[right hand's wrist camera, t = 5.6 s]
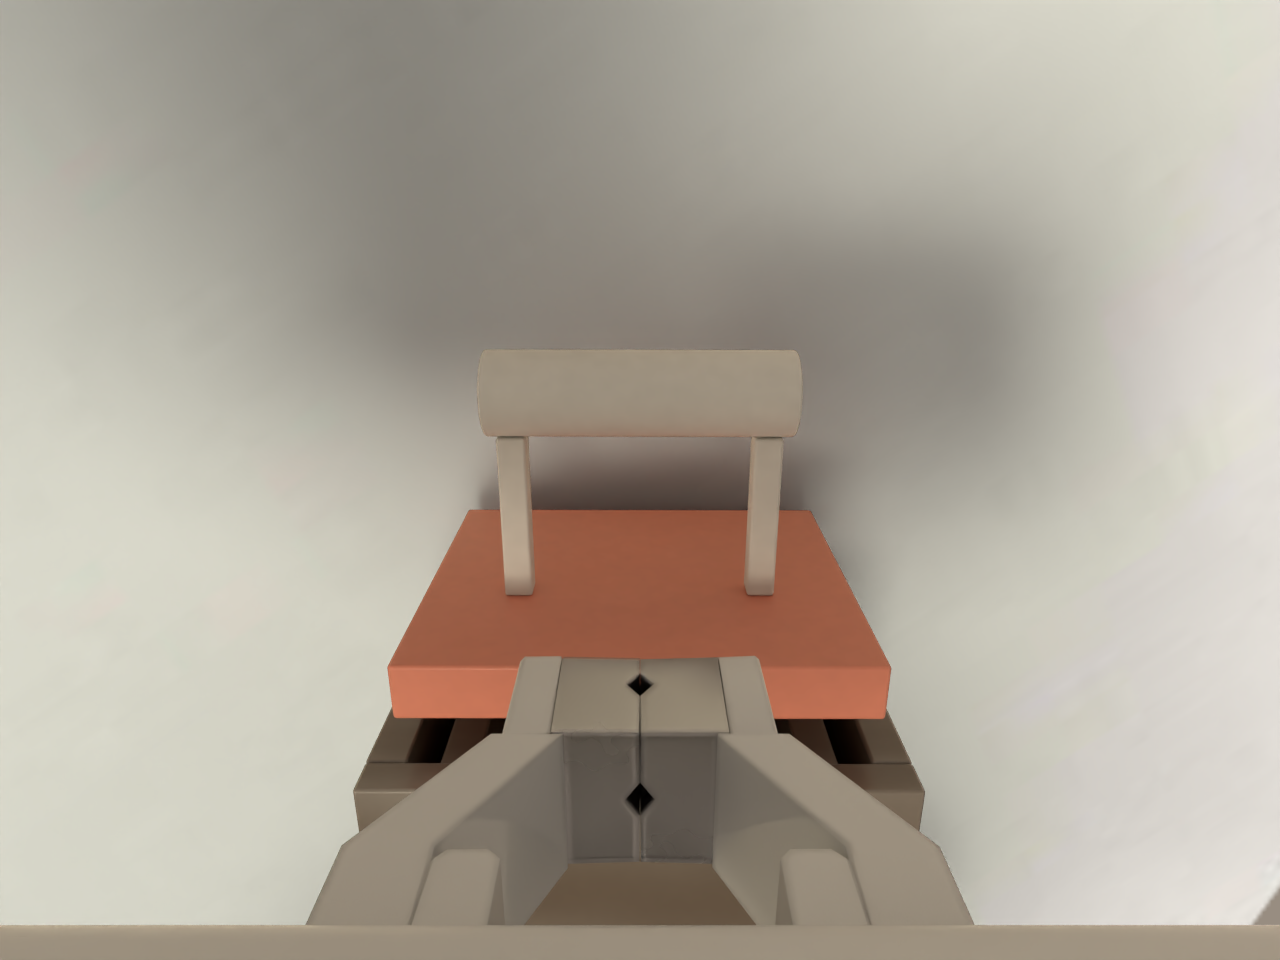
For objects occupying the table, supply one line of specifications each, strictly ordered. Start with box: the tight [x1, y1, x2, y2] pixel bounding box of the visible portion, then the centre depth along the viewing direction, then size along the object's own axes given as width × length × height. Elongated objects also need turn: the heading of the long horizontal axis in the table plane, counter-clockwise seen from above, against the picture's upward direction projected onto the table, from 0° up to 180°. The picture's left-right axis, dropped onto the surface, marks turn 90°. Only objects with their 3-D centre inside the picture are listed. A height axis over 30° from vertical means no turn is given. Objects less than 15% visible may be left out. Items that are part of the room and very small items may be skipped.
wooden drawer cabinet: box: [353, 708, 925, 925], centre depth 22 cm, size 16×11×10 cm, turn 0°
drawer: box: [388, 349, 891, 764], centre depth 21 cm, size 20×10×8 cm, turn 0°
